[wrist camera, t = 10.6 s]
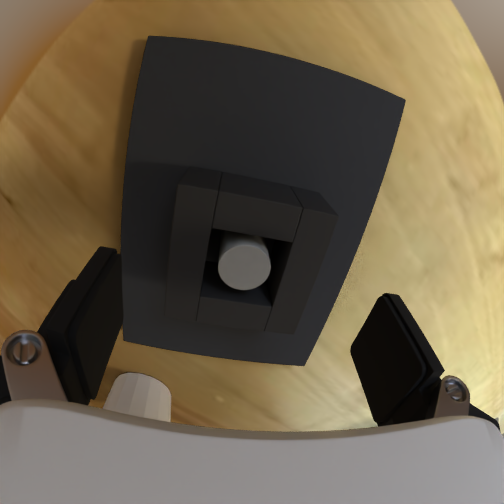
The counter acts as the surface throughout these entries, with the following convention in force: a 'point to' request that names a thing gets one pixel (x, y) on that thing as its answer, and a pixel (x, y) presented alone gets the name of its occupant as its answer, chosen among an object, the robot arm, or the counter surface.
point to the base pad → (250, 165)
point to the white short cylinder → (140, 397)
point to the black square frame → (253, 223)
